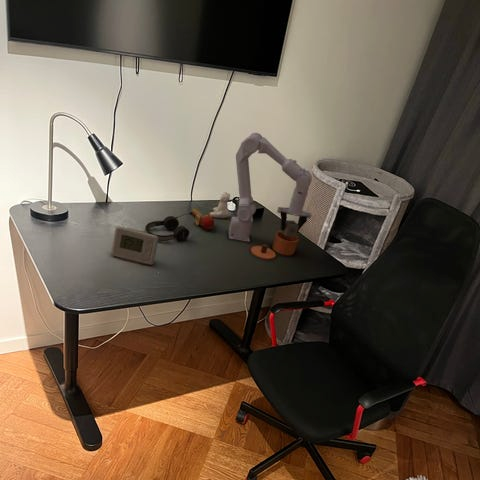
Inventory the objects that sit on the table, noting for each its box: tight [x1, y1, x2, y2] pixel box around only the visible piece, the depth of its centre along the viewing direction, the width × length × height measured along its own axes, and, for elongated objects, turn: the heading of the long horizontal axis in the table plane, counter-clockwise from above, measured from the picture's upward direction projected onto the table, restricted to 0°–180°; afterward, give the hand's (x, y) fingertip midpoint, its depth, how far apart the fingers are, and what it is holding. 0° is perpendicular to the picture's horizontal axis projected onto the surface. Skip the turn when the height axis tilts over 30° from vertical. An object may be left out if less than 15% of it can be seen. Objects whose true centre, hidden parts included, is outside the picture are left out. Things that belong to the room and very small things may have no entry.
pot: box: [271, 230, 299, 256], centre depth 208 cm, size 10×10×7 cm
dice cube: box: [280, 219, 299, 236], centre depth 204 cm, size 5×5×5 cm
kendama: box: [191, 208, 215, 231], centre depth 214 cm, size 8×6×18 cm
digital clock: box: [110, 225, 159, 266], centre depth 173 cm, size 16×9×11 cm, turn 72°
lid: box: [250, 243, 277, 260], centre depth 201 cm, size 11×11×4 cm
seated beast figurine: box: [209, 192, 231, 219], centre depth 223 cm, size 10×9×12 cm
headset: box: [144, 211, 193, 242], centre depth 196 cm, size 14×10×20 cm
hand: (289, 230), depth 204 cm, fingers closed on dice cube, 6 cm apart
